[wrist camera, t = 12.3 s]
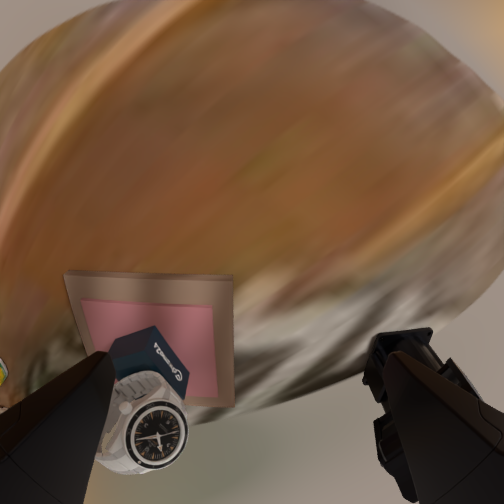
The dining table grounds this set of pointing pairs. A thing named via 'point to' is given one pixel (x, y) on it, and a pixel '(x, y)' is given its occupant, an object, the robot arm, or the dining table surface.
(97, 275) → the pink square tray
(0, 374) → the supplement bottle
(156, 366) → the watch
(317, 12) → the dining table surface
